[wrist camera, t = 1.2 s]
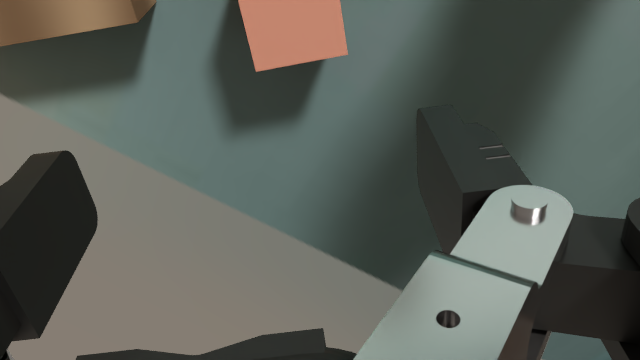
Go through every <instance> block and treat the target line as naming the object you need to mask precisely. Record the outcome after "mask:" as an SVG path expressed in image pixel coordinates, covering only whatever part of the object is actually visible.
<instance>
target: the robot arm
mask: <svg viewBox="0 0 640 360" xmlns="http://www.w3.org/2000/svg"><path fill="white" fill-rule="evenodd" d="M417 174H418V182H419V188H420V192H421V195H422V198H423V200H424V203H425V206H426V208H427V211H428V213H429V216H430V219H431V221H432V224H433V227H434V229H435V232H436V234H437V237H438V240H439V242H440V245H441V247H442V250H443V252H441V251H438V250H436V251H433V252H432V253H431V254H430V255H429V256H428V257H427V258H426V260H425V261H424V262H423V264H422V265H421V267H420V268H419V269H418V271H417V272H416V273H415V275H414V276H413V278H412V279H411V280H410V282H409V283H408V285H407V286H406V287H405V289H404V290H403V291H402V293H401V294H400V296H399V297H398V298H397V300H396V301H395V302H394V304H393V305H392V307H391V308H390V309H389V311H388V312H387V314H386V315H385V316H384V318H383V319H382V320H381V322H380V323H379V325H378V326H377V327H376V329H375V330H374V332H373V333H372V334H371V336H370V337H369V338H368V340H367V341H366V343H365V344H364V345H363V347H362V348H361V349H360V351H359V352H358V354H356V353H352V352H349V351H345V350H341V349H335V348H328V347H326V344H325V338H324V332H323V328H321V329H312V330H303V331H295V332H285V333H277V334H268V335H261V336H258V337H255V338H252V339H249V340H245V341H242V342H240V343H236V344H233V345H230V346H227V347H224V348H221V349H218V350H214V351H211V352H208V353H205V354H201V355H184V354H175V353H166V352H157V351H149V350H140V349H134V350H126V351H118V352H108V353H99V354H90V355H81V356H77V358H76V360H541V357H542V355H543V352H544V350H545V347H546V344H547V342H548V339H549V337H550V334H551V331H552V332H559V333H566V334H572V335H579V336H586V337H593V338H599V339H601V340H602V342H603V344H604V346H605V348H606V349H607V351H608V353H609V355H610V357H611V358H612V360H640V198H638V199H636V200H635V201H633V202H632V203H631V204H630V205H629V208H628V211H627V215H626V219H618V218H606V217H594V216H585V215H579V214H574V213H573V209H572V206H571V204H570V203H569V202H568V201H567V200H566V199H565V198H564V197H563V196H561V195H560V194H558V193H556V192H554V191H552V190H549V189H546V188H542V187H538V186H533V185H532V184H531V183H530V181H529V180H528V178H527V177H526V176H525V174H524V173H523V172H522V170H521V169H520V168H519V166H518V165H517V163H516V162H515V161H514V159H513V158H512V157H510V154H509V152H508V151H507V150H506V148H505V147H503V146H502V143H501V142H500V140H499V139H498V137H497V136H496V135H495V133H494V132H493V131H491V130H489V129H487V128H485V127H483V126H482V125H480V124H478V123H471V124H464V123H463V122H462V120H461V119H460V117H459V116H458V114H457V112H456V111H455V109H454V108H453V106H452V105H444V106H436V107H427V108H419V109H418V110H417ZM96 228H97V211H96V207H95V204H94V202H93V199H92V197H91V195H90V192H89V190H88V188H87V185H86V183H85V180H84V178H83V176H82V173H81V171H80V169H79V166H78V164H77V161H76V159H75V157H74V156H73V155H72V153H70V152H69V151H58V152H49V153H41V154H33V155H32V156H30V157H29V158H28V159H27V161H26V162H25V163H24V164H23V165H22V166H21V168H20V169H19V170H18V171H17V172H16V173H15V174H14V176H13V177H12V178H11V179H10V180H9V181H7V182H6V183H4V184H3V185H1V186H0V360H14V358H13V357H12V355H11V354H10V352H9V350H8V349H7V348H8V346H9V345H10V343H11V341H19V340H28V339H36V338H40V336H41V334H42V333H43V331H44V329H45V327H46V325H47V323H48V321H49V319H50V318H51V315H52V314H53V312H54V310H55V308H56V306H57V304H58V302H59V300H60V298H61V297H62V295H63V293H64V291H65V289H66V287H67V285H68V283H69V281H70V279H71V278H72V275H73V274H74V272H75V270H76V268H77V266H78V264H79V262H80V260H81V258H82V256H83V255H84V253H85V251H86V249H87V247H88V245H89V243H90V241H91V239H92V237H93V236H94V234H95V231H96Z"/></svg>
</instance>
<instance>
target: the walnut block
mask: <svg viewBox="0 0 640 360" xmlns="http://www.w3.org/2000/svg"><path fill="white" fill-rule="evenodd" d="M155 3H156V0H0V46H6V45H12V44H17V43H23V42H29V41H34V40H40V39H46V38H52V37H57V36H63V35H69V34H75V33H80V32H86V31H92V30H97V29H103V28H109V27H115V26H120V25H126V24H132V23H138V22H139V21H140V20H141V19H142V17H143V16H144V15H145V14H146V13H147V12H148V11H149V10H150V8H151V7H152V6H153V5H154V4H155Z"/></svg>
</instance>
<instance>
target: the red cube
mask: <svg viewBox="0 0 640 360" xmlns="http://www.w3.org/2000/svg"><path fill="white" fill-rule="evenodd" d="M238 2H239V6H240V10H241V14H242V18H243V22H244V26H245V30H246V34H247V38H248V42H249V46H250V50H251V54H252V58H253V62H254V66H255V70H256V72H258V71H263V70H268V69H274V68H279V67H284V66H289V65H295V64H300V63H305V62H311V61H316V60H321V59H327V58H332V57H337V56H342V55H348V52H347V45H346V39H345V32H344V25H343V18H342V12H341V5H340V0H238Z"/></svg>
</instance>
